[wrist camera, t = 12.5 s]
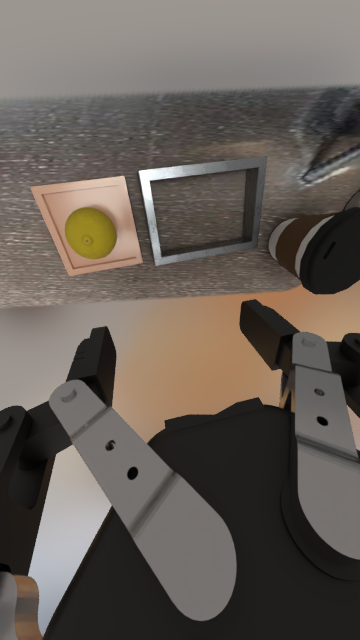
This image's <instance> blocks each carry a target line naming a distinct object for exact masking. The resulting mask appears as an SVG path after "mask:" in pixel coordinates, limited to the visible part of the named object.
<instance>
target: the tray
mask: <svg viewBox="0 0 360 640" xmlns="http://www.w3.org/2000/svg"><path fill="white" fill-rule="evenodd" d="M30 188H31V191H32V193H33V195H34V197H35V200H36V202H37V204H38V206H39V209H40V211H41V213H42V216H43V218H44V220H45V222H46V225H47V227H48V229H49V231H50V234H51V236H52V238H53V240H54V243H55V245H56V247H57V249H58V252H59V254H60V256H61V259H62V261H63V263H64V265H65V268H66V270H67V272H68V274H69V276H72V275H78V274H83V273H89V272H95V271H100V270H106V269H111V268H117V267H123V266H128V265H134V264H140V263H143V261H142V256H141V252H140V247H139V242H138V238H137V233H136V228H135V224H134V219H133V214H132V210H131V205H130V200H129V196H128V191H127V186H126V182H125V177H124V176H119V177H111V178H102V179H94V180H85V181H77V182H68V183H60V184H51V185H42V186H34V187H30ZM84 207H90V208H95V209H98V210H100V211H102V212H103V213H105V214H106V215H107V216H108V217H109V218H110V219H111V221H112V222H113V224H114V226H115V229H116V234H117V240H116V244H115V247H114V249H113V250H112V252H111V253H110V254H108V255H107V256H106V257H103V258H101V259H87V258H85V257H82V256H80V255H79V254H77V253H76V252H75V251H74V250H73V249H72V248H71V247H70V245H69V244H68V242H67V239H66V237H65V223H66V220H67V218H68V216H69V215H70V214H71V213H72V212H73V211H75V210H77V209H79V208H84Z"/></svg>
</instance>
